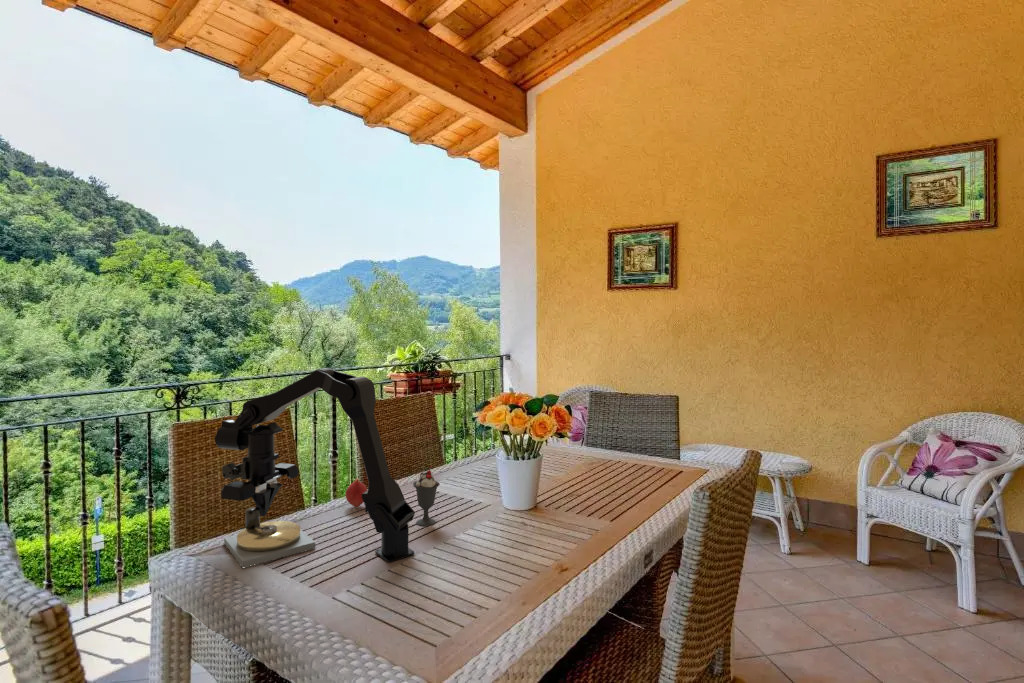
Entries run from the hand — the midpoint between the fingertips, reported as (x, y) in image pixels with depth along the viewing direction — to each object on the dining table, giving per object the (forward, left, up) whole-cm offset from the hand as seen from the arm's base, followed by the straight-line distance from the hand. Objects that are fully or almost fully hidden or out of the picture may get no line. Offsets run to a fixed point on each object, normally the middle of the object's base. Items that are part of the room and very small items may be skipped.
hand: (263, 516), depth 126 cm
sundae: (-17, -34, -5) cm, 39 cm away
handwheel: (-7, +1, -3) cm, 8 cm away
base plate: (-7, +1, -5) cm, 8 cm away
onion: (+4, -25, -5) cm, 26 cm away
